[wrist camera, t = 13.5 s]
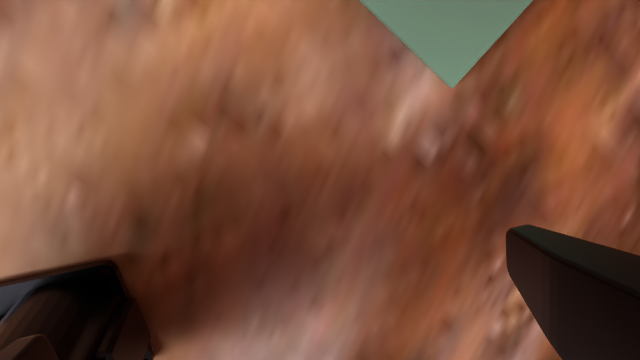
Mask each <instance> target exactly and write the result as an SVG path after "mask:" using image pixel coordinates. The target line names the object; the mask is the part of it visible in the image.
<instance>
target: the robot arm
mask: <svg viewBox="0 0 640 360" xmlns="http://www.w3.org/2000/svg"><path fill="white" fill-rule="evenodd" d="M506 261H507V269H508V272H509V275H510V277H511V279H512V280H513V282H514V284H515V285H516V287H517V289H518V291H519V292H520V294H521V296H522V297H523V299H524V301H525V302H526V304H527V306H528V307H529V309H530V311H531V312H532V314H533V316H534V318H535V319H536V321H537V323H538V324H539V326H540V328H541V329H542V331H543V333H544V334H545V336H546V337H547V339H548V340H549V342H550V343H551V345H552V346H553V348H554V349H555V350H556V352H557V353H558V354H559V356H560V357H561V358H562V360H640V256H639V255H636V254H632V253H628V252H625V251H621V250H618V249H614V248H611V247H607V246H604V245H600V244H597V243H593V242H589V241H586V240H582V239H579V238H575V237H572V236H568V235H565V234H561V233H558V232H554V231H550V230H547V229H543V228H540V227H536V226H533V225H522V226H518V227H513V228H510V229H509V230H508V231H507V233H506ZM102 269H107V270H109V271H110V274H106V273H104V272H103V271H102ZM150 337H151V336H150V333H149V330H148V328H147V326H146V323H145V321H144V318H143V316H142V314H141V311H140V309H139V306H138V304H137V302H136V299H135V298H133V297H132V296H130V295H129V292H128V290H127V288H126V285H125V283H124V281H123V278H122V276H121V273H120V271H119V269H118V266H117V265H116V264H115V263H114V262H112V261H109V260H104V261H99V262H95V263H90V264H86V265H81V266H77V267H72V268H68V269H63V270H59V271H54V272H49V273H45V274H40V275H36V276H31V277H27V278H22V279H18V280H13V281H9V282H4V283H0V360H153V359H154V352H153V350H152V347H151V345H150V343H149V340H150ZM144 357H146V358H147V359H144Z"/></svg>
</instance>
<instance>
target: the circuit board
mask: <svg viewBox="0 0 640 360" xmlns="http://www.w3.org/2000/svg"><path fill="white" fill-rule="evenodd" d="M359 1H360V2H361V3H362V4H363V5H364V6H365V7H366V8H367V9H368V10H369V11H370V12H371V13H372V14H373V15H374V16H376V17H377V18H378V19H379V20H380V21H381V22H382V23H383V24H384V25H385V26H386V27H387V28H388V29H389V30H390V31H391V32H392V33H393V34H394V35H395V36H396V37H397V38H398V39H399V40H400V41H401V42H402V43H403V44H405V45H406V46H407V47H408V48H409V49H410V50H411V51H412V52H413V53H414V54H415V55H416V56H417V57H418V58H419V59H420V60H421V61H422V62H423V63H424V64H425V65H426V66H427V67H428V68H429V69H430V70H431V71H433V72H434V73H435V74H436V75H437V76H438V77H439V78H440V79H441V80H442V81H443V82H444V83H445V84H446V85H447V86H448V87H451V88H454V87H455V85H456V84H457V83H458V82H459V81H460V80H461V79H462V78H463V77H464V76H465V75H466V73H467V72H468V71H469V70H470V69H471V68H472V67H473V66H474V65H475V64H476V62H477V61H478V60H479V59H480V58H481V57H482V56H483V55H484V54H485V53H486V51H487V50H488V49H489V48H490V47H491V46H492V45H493V44H494V43H495V42H496V41H497V39H498V38H499V37H500V36H501V35H502V34H503V33H504V32H505V31H506V30H507V28H508V27H509V26H510V25H511V24H512V23H513V22H514V21H515V20H516V19H517V17H518V16H519V15H520V14H521V13H522V12H523V11H524V10H525V9H526V8H527V7H528V5H529V4H530V3H531V2H532V1H533V0H359Z"/></svg>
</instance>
